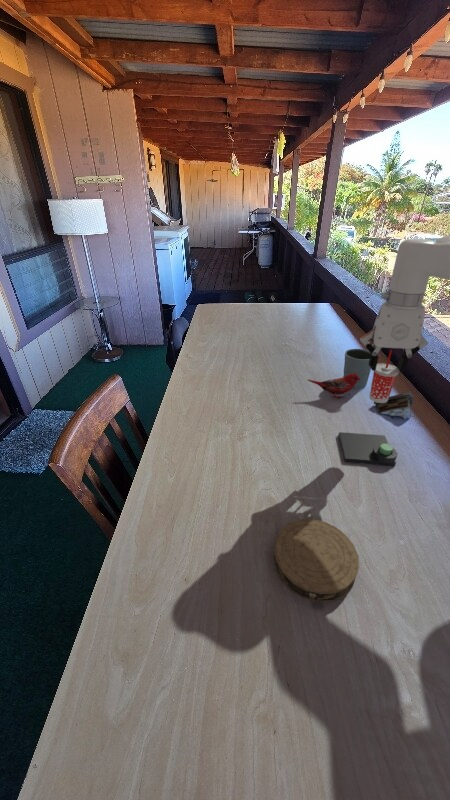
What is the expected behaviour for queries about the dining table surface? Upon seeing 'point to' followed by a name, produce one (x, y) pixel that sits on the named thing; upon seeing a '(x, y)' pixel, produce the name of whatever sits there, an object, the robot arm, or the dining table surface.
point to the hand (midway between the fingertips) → (386, 368)
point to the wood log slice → (315, 560)
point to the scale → (365, 449)
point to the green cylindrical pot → (358, 365)
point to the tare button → (385, 449)
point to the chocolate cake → (397, 405)
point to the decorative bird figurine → (338, 384)
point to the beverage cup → (383, 381)
